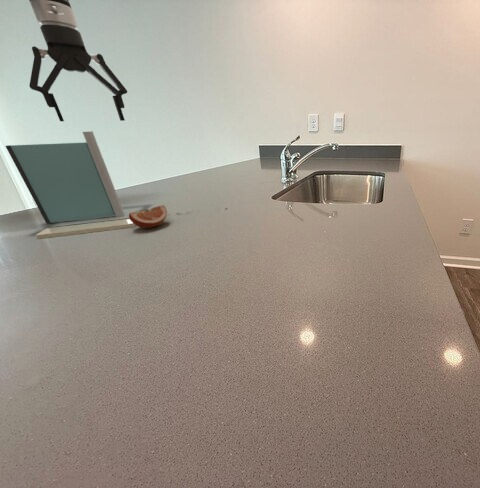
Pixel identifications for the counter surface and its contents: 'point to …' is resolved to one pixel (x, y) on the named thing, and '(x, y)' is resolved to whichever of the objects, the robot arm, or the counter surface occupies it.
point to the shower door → (62, 180)
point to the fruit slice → (149, 217)
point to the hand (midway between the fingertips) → (94, 121)
